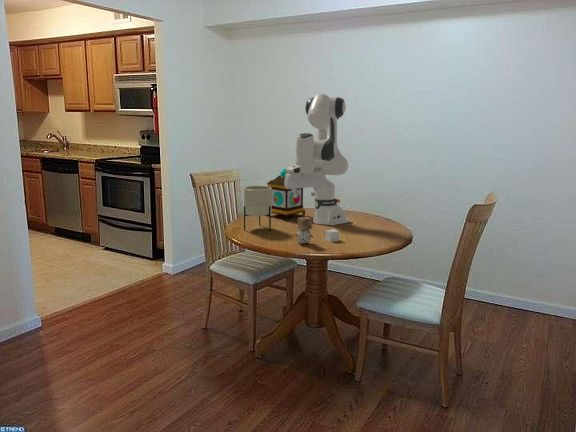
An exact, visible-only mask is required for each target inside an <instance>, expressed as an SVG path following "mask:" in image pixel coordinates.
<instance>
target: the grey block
mask: <svg viewBox="0 0 576 432" xmlns="http://www.w3.org/2000/svg"><path fill="white" fill-rule="evenodd" d="M324 235H325V240H326V241H327V242H330V243H331V242H339V241H340V231H339V230H337V229H334V228H333V229H325V234H324Z"/></svg>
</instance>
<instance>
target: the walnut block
mask: <svg viewBox="0 0 576 432" xmlns="http://www.w3.org/2000/svg"><path fill="white" fill-rule="evenodd" d="M312 221H313V218H310V217H308V216H301V217H297V228H298V229H299V230H300V229H302V230H306V229H309V230H312V227H313V226H312V225H313V223H312Z"/></svg>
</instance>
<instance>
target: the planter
mask: <svg viewBox="0 0 576 432" xmlns="http://www.w3.org/2000/svg"><path fill="white" fill-rule="evenodd" d="M268 214H269V215H268ZM271 214H273V213H272V188H271V187H269V186H268V185H251V186H250V185H247V186H245V187H243V231H246V217H247V216H248V217H249V216H254V217H255V216H257V217H258V225H259V226H261V217H262V216H263V217H268V223H269V224H268V225H269V226H268V231H269V232H271V230H272V229H271V228H272V227H271V225H272V223H271V221H272V219H271V216H272V215H271Z"/></svg>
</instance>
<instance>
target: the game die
mask: <svg viewBox="0 0 576 432" xmlns="http://www.w3.org/2000/svg"><path fill="white" fill-rule="evenodd" d="M294 236H295V237H296V238H297V241H298V245H299V244H307V245H310V241H311V238H314V236H313V235H312V233H311V229H306V230H302V229H300V228H299V229H298V231H297V233H296V234H294Z"/></svg>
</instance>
